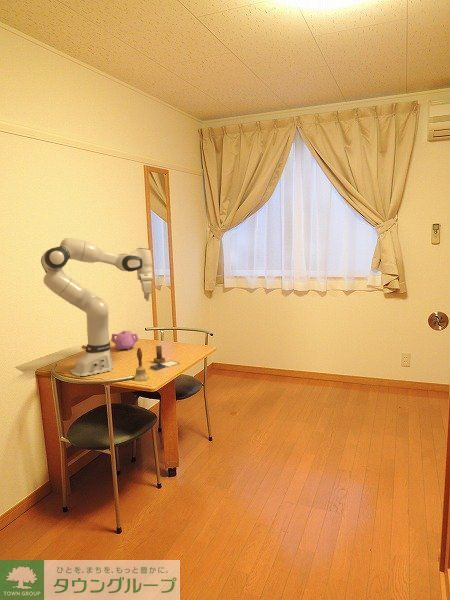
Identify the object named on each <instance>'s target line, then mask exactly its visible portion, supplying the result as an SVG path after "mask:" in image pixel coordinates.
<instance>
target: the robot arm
mask: <svg viewBox="0 0 450 600" xmlns="http://www.w3.org/2000/svg"><path fill="white" fill-rule="evenodd" d="M152 257H153V256H152V252H151V250H150V249H149V248H143V247H137V248H136V249H135V250H134V251H132V252H130V253H121V254H116V253H112V252H108V251H105V250H103V249H101V248H100V247H99V246H98V245H96V244H94V243H92V242H89V241H87V240H82V239H78V238H70V237H69V238H64V239H63V240H61V242H60V244H59V246H55V247H52V248H50V249H47V250H46V251H44V253H42V256H41V258H40V263H41V266H42V268H43V270H44V272H45V274H44V276H43V284H44V285H45V287H46V288H48V289H49V290H50V291H51V292H53V293H54V294H55V295H57V296H58V297H60V298H61V299H62V300H64V301H65V302H67V303H69V304H70V305H72V306H74V307H76V308H78V309H79V310H81V311H82V312H84V313H85V314H86V332H87V334H86V335H87V344H86V345H84V344H82V345H81V349H82V350H85V351H84V352H83V353H82V355H80V356H79V358H77V359H76V360H75V363H74V365H75V366H74V368H73V369H70V373H71V374H72V375H73V376H74V377H80V376H86V377H88V376H87V375H91V376H93V375H92V374H95V375H98V374H97V373H100V374H103V372H105V373H108V372H107V371H109V372H111V371H112V369H114V367H115V366H114V365H115V364H114V362H113V359H112V354H111V342H110V337H109V336H110V334H109V333H110V332H109V306H108V304H107V303H106V302H105V300H104V299H102V297H100V296H99V295H97V294H96V293H94V292H92V291H91V290H90V289H88V288H86V287H84V286H83V285H81V284H80V283H79V282H77V281H76V280H74V279H73V278H72V277H70V276H68V275H67V274H66V273H65V272H64V271H63V268H64V267H65V266H66V264H67V263H68V261H69V260H75V261H78V262H83V263H91V264H93V263H104V264H107V265H112V266H115V267H116V268H117V269H119V271H122V272H128V273H132V272H135V271H136V275H137V280H138V281H139V282H140V284H141V286H140V287H141V291H142V292H143V296H144V297H143V298H144V299H145V301H146V302H149V301H150V295H151V294H152V281H153V279H154V274H153V273H154V271H153V267H152V266H153V258H152ZM80 378H81V377H80Z"/></svg>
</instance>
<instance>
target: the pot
mask: <svg viewBox="0 0 450 600" xmlns="http://www.w3.org/2000/svg"><path fill="white" fill-rule="evenodd" d="M110 340H111V342H112V343H113V344H114V346H115V347H116V349H117V351H122V350H123V349H124V350H125V349H126V351H130V350H131V348H133V347H134V346H135V344H136V343H137V342H138V341H139V336H138V333H132V331H130V330H122V331H120V332H119V333H112V334H111V338H110Z"/></svg>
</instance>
